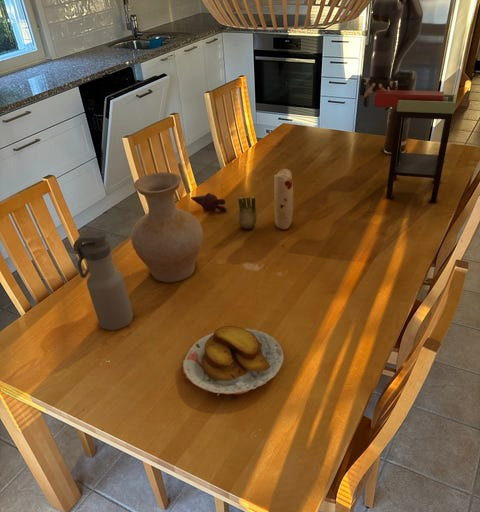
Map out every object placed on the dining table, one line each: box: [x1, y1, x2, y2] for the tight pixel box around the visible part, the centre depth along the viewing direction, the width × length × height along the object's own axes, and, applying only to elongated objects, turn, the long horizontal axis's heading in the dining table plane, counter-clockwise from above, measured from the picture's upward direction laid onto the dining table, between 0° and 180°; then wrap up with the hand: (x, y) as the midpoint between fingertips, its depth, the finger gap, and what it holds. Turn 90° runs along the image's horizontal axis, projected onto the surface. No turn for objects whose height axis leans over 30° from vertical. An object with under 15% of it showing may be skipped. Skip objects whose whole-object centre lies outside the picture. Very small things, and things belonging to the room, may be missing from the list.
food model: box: [273, 168, 294, 230], centre depth 176 cm, size 10×7×20 cm
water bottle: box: [72, 230, 134, 331], centre depth 137 cm, size 10×10×28 cm
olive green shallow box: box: [397, 93, 457, 115], centre depth 172 cm, size 9×18×4 cm, turn 70°
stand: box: [385, 111, 454, 204], centre depth 187 cm, size 19×18×32 cm
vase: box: [130, 171, 204, 283], centre depth 155 cm, size 22×22×30 cm
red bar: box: [373, 90, 448, 108], centre depth 173 cm, size 4×24×4 cm, turn 70°
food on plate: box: [182, 325, 286, 397], centre depth 126 cm, size 25×25×7 cm
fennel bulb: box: [237, 196, 258, 230], centre depth 178 cm, size 6×5×12 cm
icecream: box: [190, 192, 228, 213], centre depth 193 cm, size 7×7×15 cm
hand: (376, 108), depth 198 cm, fingers open, 8 cm apart
